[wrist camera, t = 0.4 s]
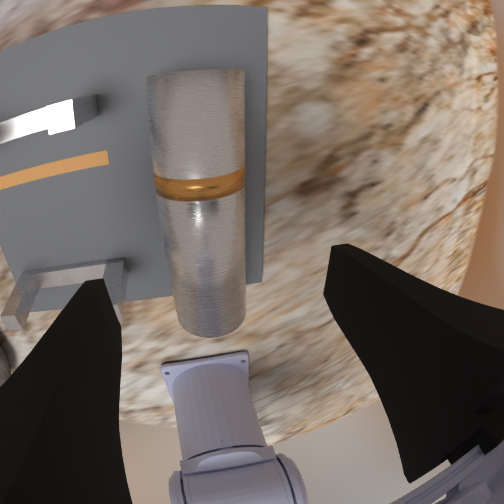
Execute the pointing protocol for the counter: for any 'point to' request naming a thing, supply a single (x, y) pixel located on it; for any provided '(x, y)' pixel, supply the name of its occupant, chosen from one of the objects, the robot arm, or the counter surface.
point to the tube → (201, 193)
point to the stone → (4, 368)
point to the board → (117, 140)
